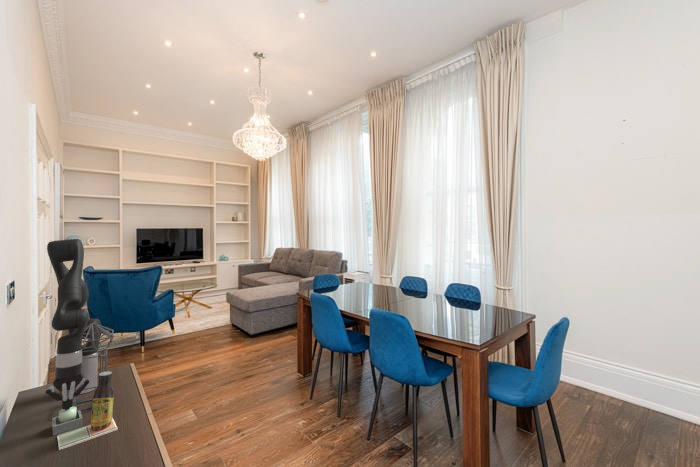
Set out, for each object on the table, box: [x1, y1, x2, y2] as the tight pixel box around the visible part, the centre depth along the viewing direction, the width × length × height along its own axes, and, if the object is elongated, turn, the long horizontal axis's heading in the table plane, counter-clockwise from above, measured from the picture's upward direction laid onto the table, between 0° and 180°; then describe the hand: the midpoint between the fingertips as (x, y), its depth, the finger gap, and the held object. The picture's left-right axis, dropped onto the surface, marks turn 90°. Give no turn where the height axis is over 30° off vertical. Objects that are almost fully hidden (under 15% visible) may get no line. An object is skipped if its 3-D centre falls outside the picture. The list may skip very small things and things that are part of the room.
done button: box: [58, 406, 77, 424], centre depth 117 cm, size 5×5×4 cm
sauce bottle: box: [90, 370, 115, 431], centre depth 116 cm, size 7×6×20 cm
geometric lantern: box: [67, 323, 115, 412], centre depth 133 cm, size 16×16×35 cm
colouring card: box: [56, 417, 119, 451], centre depth 113 cm, size 10×16×1 cm, turn 136°
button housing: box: [51, 409, 84, 437], centre depth 117 cm, size 8×8×3 cm
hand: (67, 409), depth 117 cm, fingers closed
